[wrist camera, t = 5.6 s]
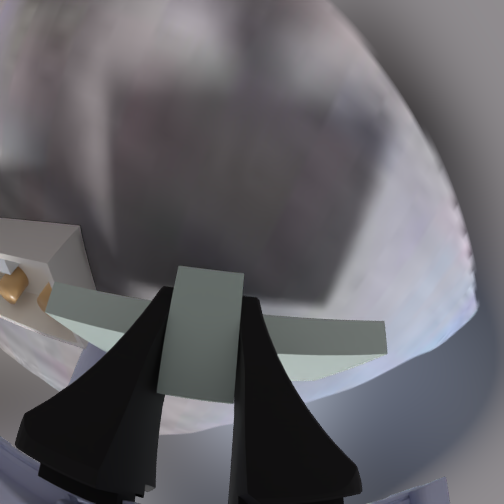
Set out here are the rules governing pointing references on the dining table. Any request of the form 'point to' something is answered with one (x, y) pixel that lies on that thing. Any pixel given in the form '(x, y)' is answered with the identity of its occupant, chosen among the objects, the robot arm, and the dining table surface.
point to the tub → (40, 273)
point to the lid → (216, 333)
